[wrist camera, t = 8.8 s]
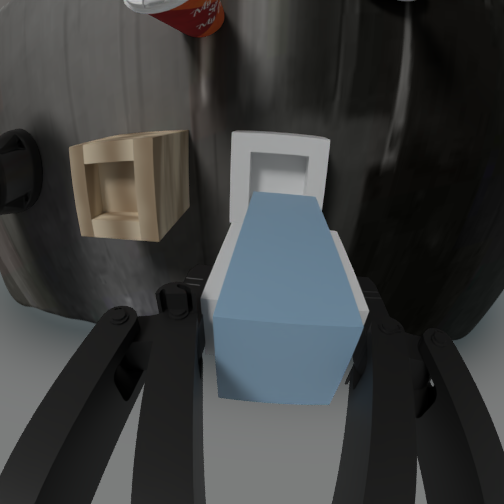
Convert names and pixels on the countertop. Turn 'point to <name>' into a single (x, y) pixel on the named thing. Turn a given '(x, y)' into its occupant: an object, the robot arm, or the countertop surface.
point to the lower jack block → (275, 167)
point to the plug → (284, 307)
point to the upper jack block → (131, 184)
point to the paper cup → (183, 14)
